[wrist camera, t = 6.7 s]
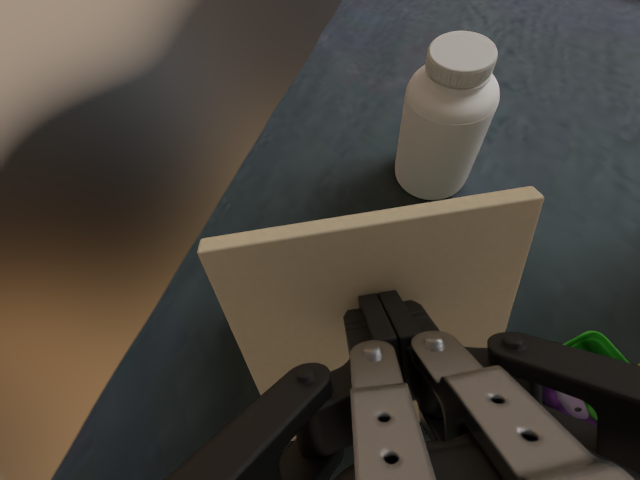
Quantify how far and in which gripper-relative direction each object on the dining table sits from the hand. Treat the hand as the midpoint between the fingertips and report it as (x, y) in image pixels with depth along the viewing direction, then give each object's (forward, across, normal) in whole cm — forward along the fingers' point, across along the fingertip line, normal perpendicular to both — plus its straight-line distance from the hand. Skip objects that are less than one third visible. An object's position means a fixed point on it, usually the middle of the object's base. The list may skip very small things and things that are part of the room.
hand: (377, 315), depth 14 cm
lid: (+2, 0, +2) cm, 3 cm away
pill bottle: (+29, -12, -2) cm, 31 cm away
